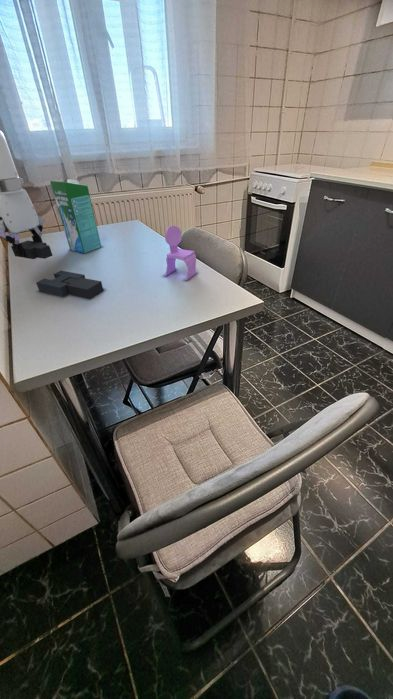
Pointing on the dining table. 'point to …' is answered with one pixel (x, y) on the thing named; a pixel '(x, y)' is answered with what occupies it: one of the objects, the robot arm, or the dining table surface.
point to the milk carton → (76, 215)
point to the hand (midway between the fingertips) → (31, 252)
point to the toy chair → (178, 252)
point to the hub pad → (57, 283)
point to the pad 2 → (84, 287)
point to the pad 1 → (35, 250)
